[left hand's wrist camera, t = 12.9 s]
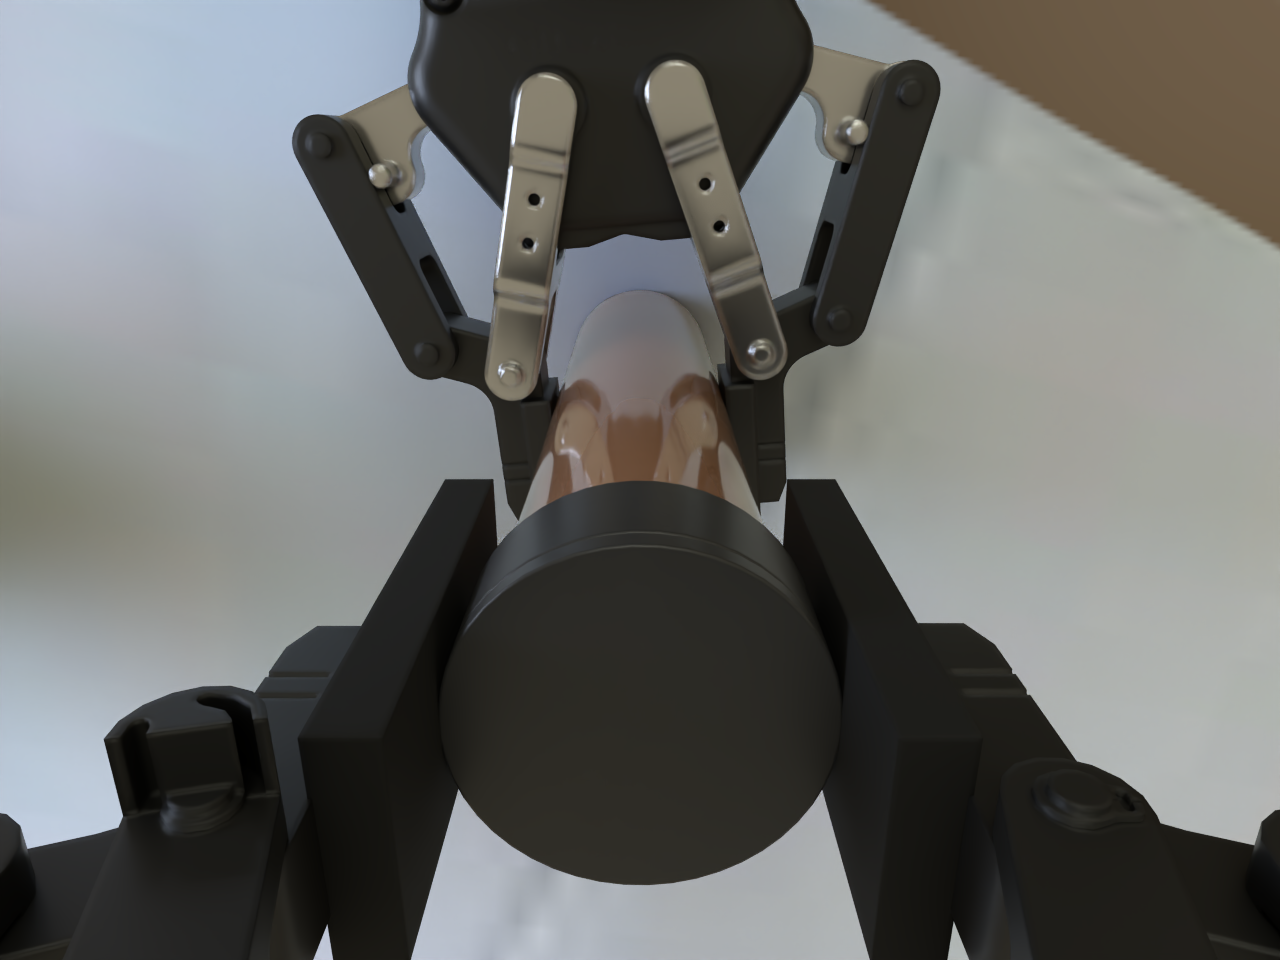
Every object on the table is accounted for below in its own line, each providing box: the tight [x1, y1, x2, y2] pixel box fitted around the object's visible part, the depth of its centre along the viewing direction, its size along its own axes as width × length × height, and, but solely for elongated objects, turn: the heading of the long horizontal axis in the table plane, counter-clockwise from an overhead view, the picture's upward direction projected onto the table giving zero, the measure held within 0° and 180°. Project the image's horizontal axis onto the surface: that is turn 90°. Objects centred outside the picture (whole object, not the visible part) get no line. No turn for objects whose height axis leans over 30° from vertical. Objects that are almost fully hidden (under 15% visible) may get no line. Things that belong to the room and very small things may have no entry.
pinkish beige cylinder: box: [517, 290, 763, 526], centre depth 19 cm, size 4×4×19 cm
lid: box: [438, 481, 843, 885], centre depth 11 cm, size 5×5×2 cm
